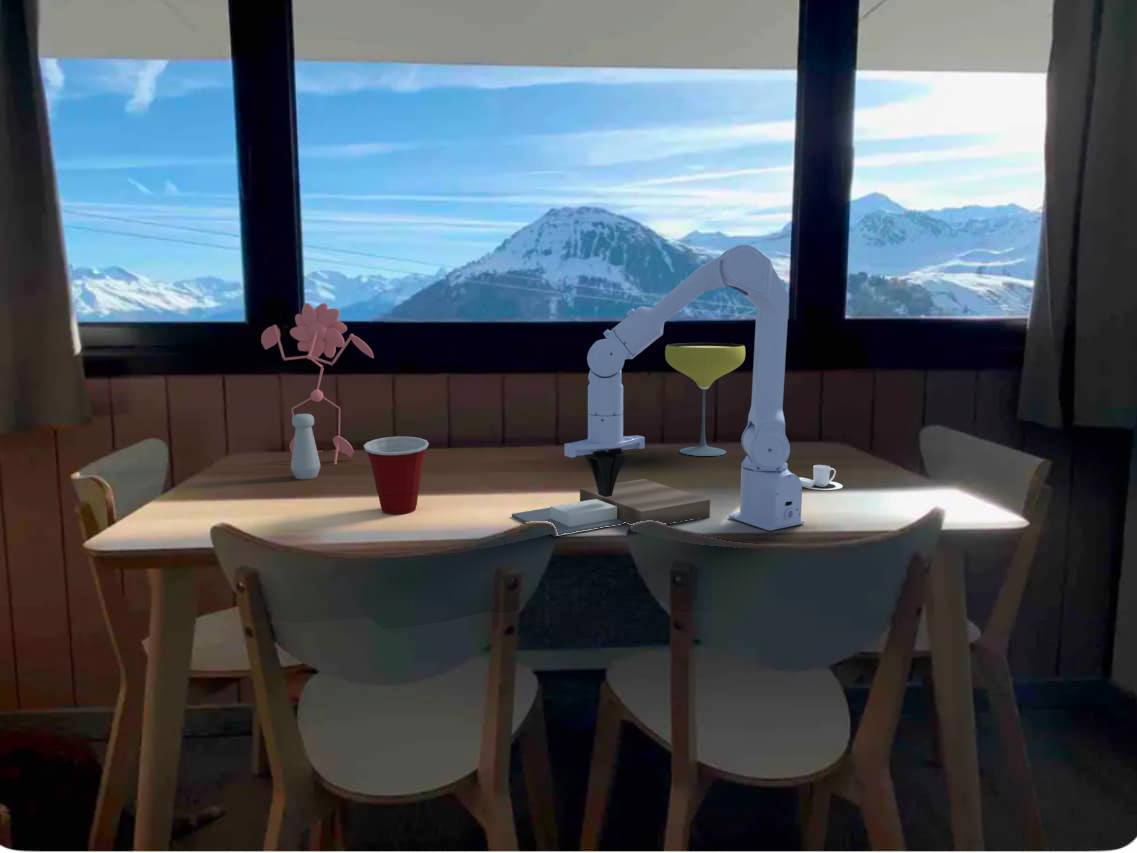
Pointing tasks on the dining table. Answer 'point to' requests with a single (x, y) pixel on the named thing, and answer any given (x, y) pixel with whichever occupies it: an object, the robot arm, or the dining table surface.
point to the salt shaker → (304, 448)
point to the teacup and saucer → (820, 478)
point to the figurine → (318, 351)
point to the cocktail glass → (704, 374)
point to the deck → (651, 502)
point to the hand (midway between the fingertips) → (605, 495)
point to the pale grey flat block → (583, 512)
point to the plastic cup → (397, 471)
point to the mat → (561, 528)
